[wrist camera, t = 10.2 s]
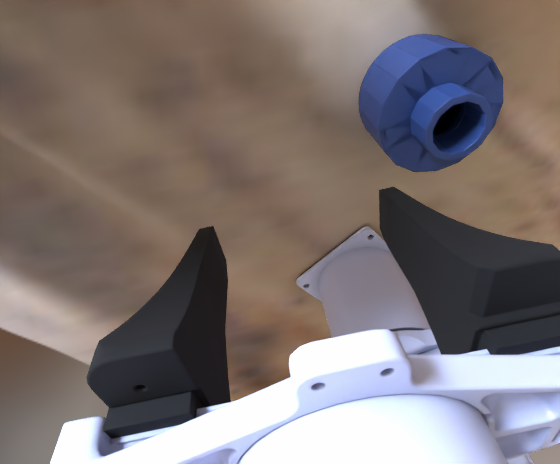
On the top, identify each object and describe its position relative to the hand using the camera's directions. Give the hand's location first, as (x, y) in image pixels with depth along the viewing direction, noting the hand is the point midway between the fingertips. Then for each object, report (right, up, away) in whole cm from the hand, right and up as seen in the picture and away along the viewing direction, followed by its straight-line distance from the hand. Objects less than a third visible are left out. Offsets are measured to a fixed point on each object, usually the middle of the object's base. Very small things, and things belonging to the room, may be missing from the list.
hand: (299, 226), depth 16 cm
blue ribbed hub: (+8, +9, +8) cm, 14 cm away
